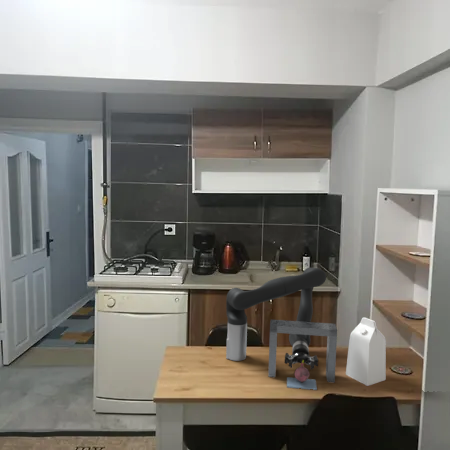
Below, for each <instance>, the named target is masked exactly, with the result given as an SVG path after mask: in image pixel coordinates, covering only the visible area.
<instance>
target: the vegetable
mask: <svg viewBox="0 0 450 450" xmlns="http://www.w3.org/2000/svg"><path fill="white" fill-rule="evenodd" d="M304 364H305V363H304V360H303V361H302V363H300V366H299V367H297V368H296V369H295V371H294V378H296V379H297V380H299V381H301V382H302V383H303V382H305V381H306V380H307V379H309V377H310V370H309V369H308V368H306V367H305V366H304Z"/></svg>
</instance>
